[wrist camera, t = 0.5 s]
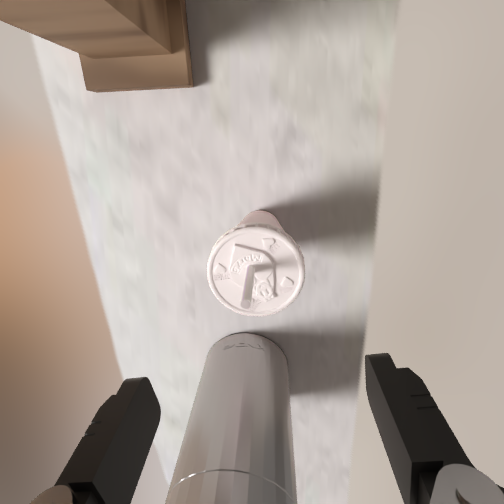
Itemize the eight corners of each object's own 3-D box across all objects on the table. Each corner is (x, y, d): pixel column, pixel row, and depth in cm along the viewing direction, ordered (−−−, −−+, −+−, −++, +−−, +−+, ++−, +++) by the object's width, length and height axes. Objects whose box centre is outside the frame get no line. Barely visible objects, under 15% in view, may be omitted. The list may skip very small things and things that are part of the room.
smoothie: (273, 182, 27) (275, 229, 14) (307, 241, 28) (338, 333, 15) (212, 217, 28) (163, 291, 15) (248, 272, 30) (232, 379, 17)
